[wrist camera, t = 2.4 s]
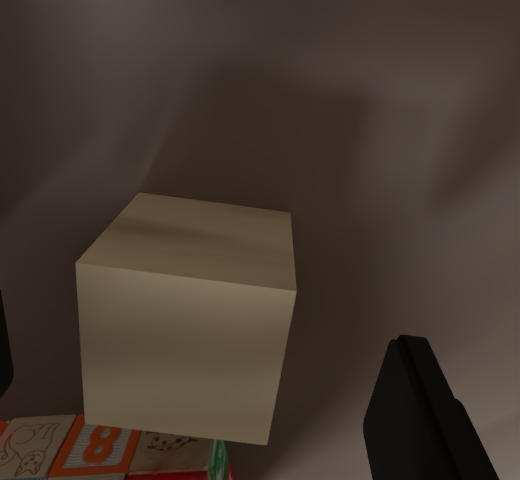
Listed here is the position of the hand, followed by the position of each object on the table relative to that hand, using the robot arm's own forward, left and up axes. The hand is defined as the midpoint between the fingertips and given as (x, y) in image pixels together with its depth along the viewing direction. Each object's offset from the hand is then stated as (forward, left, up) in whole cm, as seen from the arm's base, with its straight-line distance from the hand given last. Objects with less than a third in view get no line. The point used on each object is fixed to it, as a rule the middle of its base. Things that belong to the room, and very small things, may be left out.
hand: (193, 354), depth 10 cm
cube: (0, 0, -5) cm, 5 cm away
